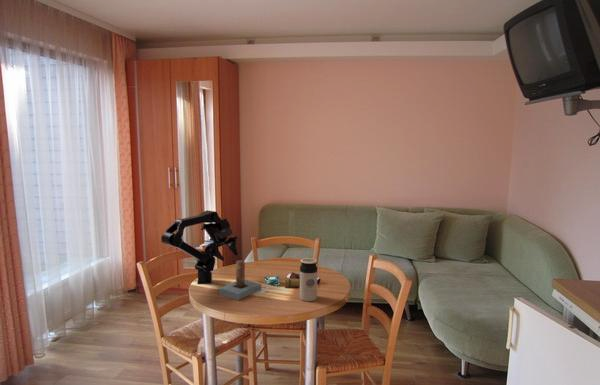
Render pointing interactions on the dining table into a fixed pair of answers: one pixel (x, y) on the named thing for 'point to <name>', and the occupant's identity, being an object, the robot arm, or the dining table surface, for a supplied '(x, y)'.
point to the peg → (240, 274)
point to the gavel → (292, 281)
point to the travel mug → (308, 279)
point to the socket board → (239, 290)
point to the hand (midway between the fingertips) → (230, 257)
